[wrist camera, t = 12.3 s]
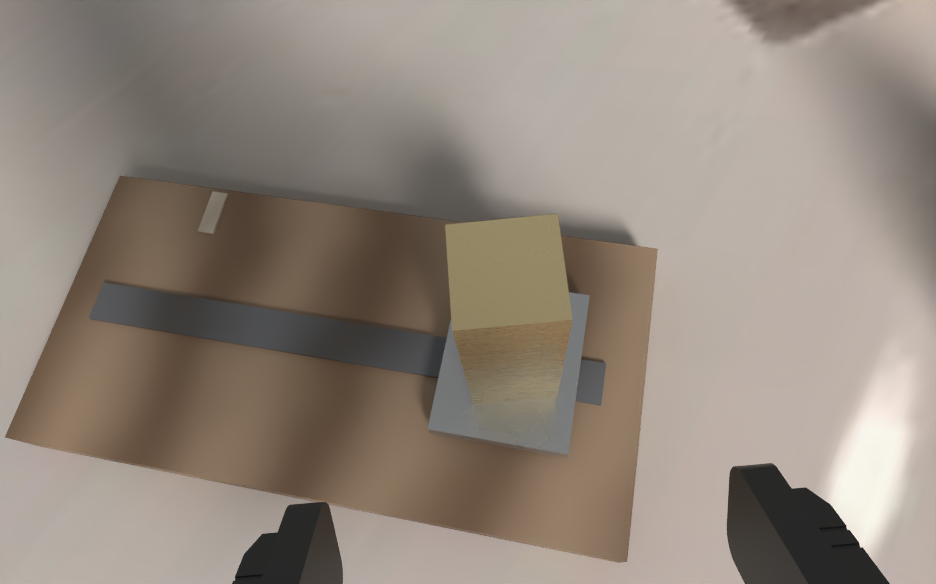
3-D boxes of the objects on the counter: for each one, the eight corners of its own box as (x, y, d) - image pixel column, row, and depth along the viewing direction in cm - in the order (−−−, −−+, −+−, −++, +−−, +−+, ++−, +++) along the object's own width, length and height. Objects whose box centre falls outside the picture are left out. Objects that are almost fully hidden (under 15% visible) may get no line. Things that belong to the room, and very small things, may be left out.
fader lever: (430, 433, 25) (385, 366, 17) (461, 284, 27) (435, 160, 19) (567, 458, 24) (589, 400, 16) (587, 303, 26) (617, 182, 18)
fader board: (38, 445, 28) (1, 436, 26) (142, 197, 33) (117, 173, 31) (619, 562, 25) (628, 561, 23) (648, 269, 29) (658, 246, 27)
